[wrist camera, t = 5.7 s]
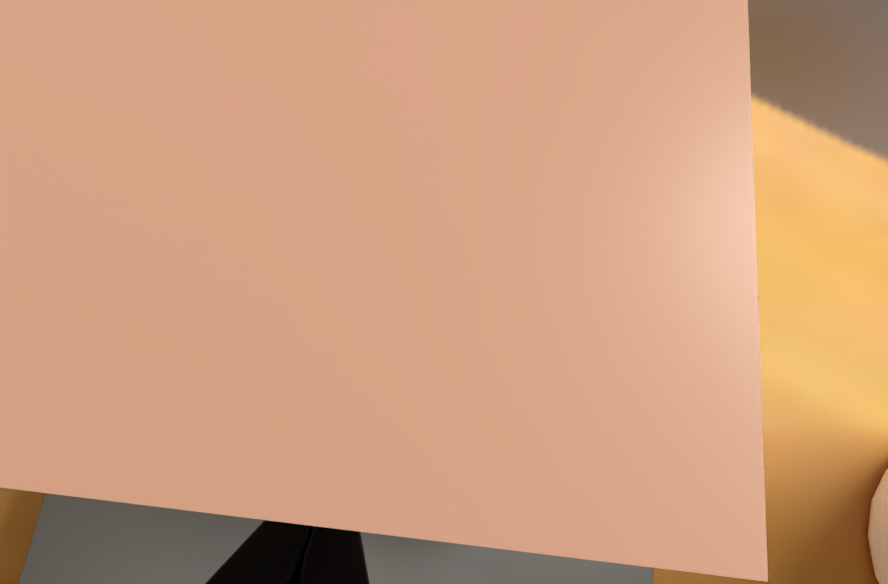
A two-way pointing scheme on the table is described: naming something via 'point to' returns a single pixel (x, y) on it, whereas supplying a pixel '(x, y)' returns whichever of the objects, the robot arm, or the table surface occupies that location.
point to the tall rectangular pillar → (389, 269)
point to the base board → (218, 536)
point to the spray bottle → (879, 530)
